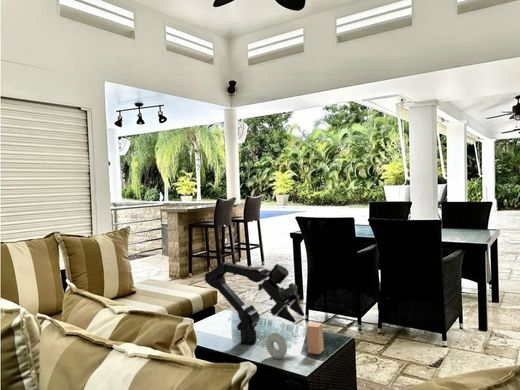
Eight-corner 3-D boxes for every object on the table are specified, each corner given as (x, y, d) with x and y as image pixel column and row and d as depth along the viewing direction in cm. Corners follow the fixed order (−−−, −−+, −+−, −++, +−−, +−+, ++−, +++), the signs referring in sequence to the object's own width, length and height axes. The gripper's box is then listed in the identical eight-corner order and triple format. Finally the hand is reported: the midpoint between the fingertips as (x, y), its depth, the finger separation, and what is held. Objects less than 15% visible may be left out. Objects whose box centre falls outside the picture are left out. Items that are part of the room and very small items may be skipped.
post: (308, 352, 164) (306, 325, 164) (312, 348, 169) (310, 322, 169) (319, 354, 162) (317, 327, 162) (323, 349, 166) (322, 323, 166)
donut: (264, 357, 163) (263, 332, 163) (270, 354, 165) (268, 329, 165) (284, 362, 156) (282, 336, 156) (289, 359, 159) (288, 334, 159)
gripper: (275, 283, 163) (302, 312, 157) (294, 274, 179) (319, 300, 174) (259, 301, 167) (285, 330, 161) (279, 290, 183) (303, 317, 178)
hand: (299, 318), depth 168 cm, fingers open, 9 cm apart
